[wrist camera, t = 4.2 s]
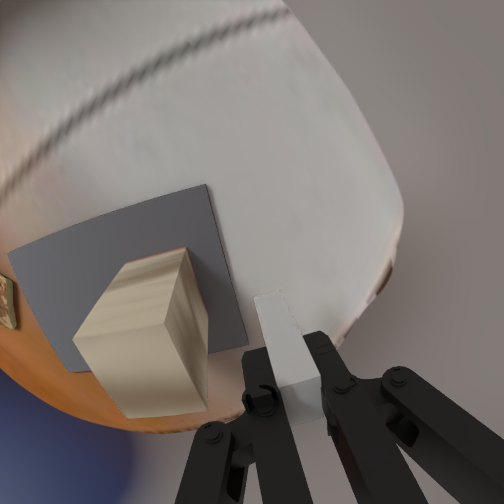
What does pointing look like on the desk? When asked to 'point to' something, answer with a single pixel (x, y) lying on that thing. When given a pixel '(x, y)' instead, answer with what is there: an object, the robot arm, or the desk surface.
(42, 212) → the desk surface
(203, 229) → the rubber mat
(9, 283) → the shard
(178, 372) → the birch block
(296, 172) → the desk surface
